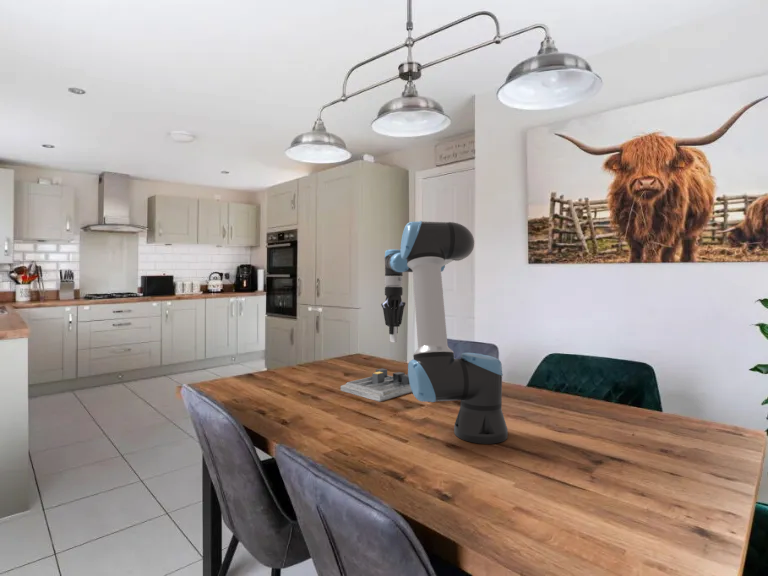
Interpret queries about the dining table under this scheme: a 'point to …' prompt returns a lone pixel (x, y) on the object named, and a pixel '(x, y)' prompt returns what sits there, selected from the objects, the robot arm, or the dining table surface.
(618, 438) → the dining table surface
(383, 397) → the panel
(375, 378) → the toggle
